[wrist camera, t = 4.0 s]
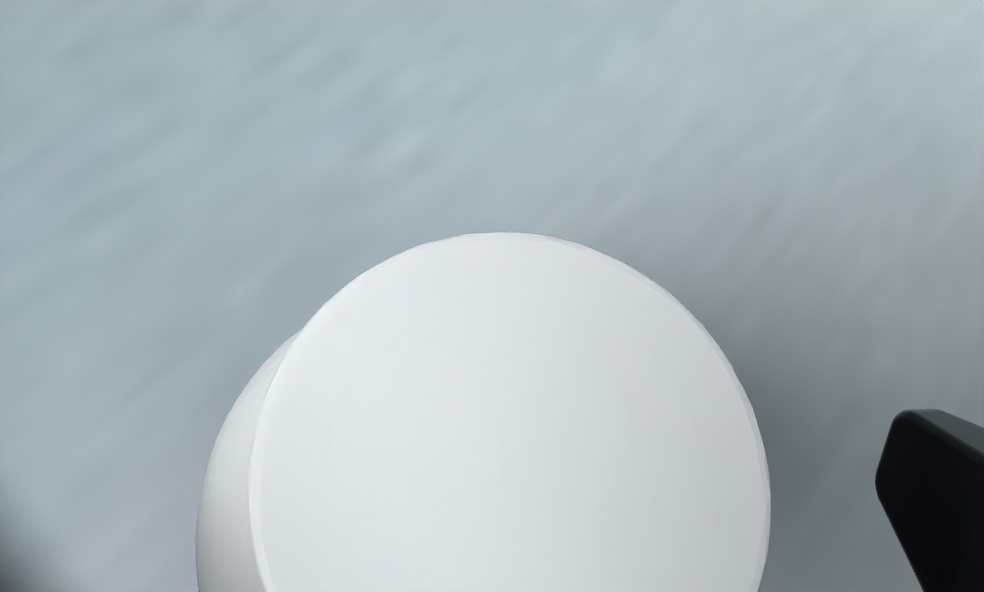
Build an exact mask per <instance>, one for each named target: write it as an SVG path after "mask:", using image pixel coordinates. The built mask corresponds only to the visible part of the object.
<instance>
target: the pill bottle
mask: <svg viewBox="0 0 984 592" xmlns="http://www.w3.org/2000/svg"><path fill="white" fill-rule="evenodd" d="M770 521H771V491H770V478H769V470H768V464H767V457H766V451H765V447H764V444H763V440H762V437H761V434H760V430H759V427H758V423H757V420H756V417H755V413H754V410H753V408H752V405H751V403H750V401H749V399H748V397H747V395H746V392H745V390H744V388H743V386H742V385H741V383H740V381H739V379H738V377H737V375H736V374H735V371H734V369H733V366H732V365H731V363H730V362H729V360H728V359H727V357H726V355H725V354H724V352H723V351H722V349H721V348H720V347H719V345H718V344H717V343H716V341H715V340H714V339H713V338H712V336H711V335H710V334H709V332H708V331H707V330H706V328H705V327H704V326H703V325H702V324H701V323H700V322H699V321H698V320H697V319H696V318H695V317H694V316H693V315H692V314H691V312H689V311H688V310H687V309H686V308H685V307H684V306H683V305H682V304H681V303H680V302H679V301H678V300H677V299H676V298H675V297H674V296H673V295H672V294H670V293H669V292H668V291H667V290H666V289H664V288H663V287H662V286H661V285H659V284H658V283H656V282H655V281H653V280H652V279H650V278H649V277H647V276H646V275H644V274H643V273H641V272H640V271H638V270H636V269H634V268H633V267H631V266H629V265H628V264H626V263H624V262H622V261H620V260H618V259H616V258H614V257H612V256H609V255H607V254H605V253H603V252H601V251H598V250H595V249H592V248H590V247H587V246H584V245H581V244H579V243H575V242H571V241H568V240H564V239H560V238H557V237H551V236H544V235H538V234H533V233H524V232H509V231H503V232H488V233H473V234H463V235H457V236H453V237H449V238H445V239H442V240H438V241H434V242H429V243H425V244H422V245H419V246H415V247H412V248H410V249H408V250H406V251H403V252H401V253H399V254H397V255H395V256H392V257H390V258H388V259H386V260H385V261H383V262H381V263H380V264H378V265H376V266H374V267H373V268H371V269H369V270H367V271H366V272H364V273H362V274H361V275H359V276H358V277H356V278H355V279H354V280H352V281H351V282H350V283H348V284H347V285H346V286H345V287H343V288H342V289H341V290H340V291H339V292H337V293H336V294H335V295H334V296H333V297H332V298H331V299H329V300H328V301H327V302H326V303H325V304H324V305H323V306H322V307H321V308H320V309H319V310H318V311H317V312H316V314H315V315H314V316H313V317H312V318H311V319H310V320H309V321H308V322H307V324H306V325H305V326H304V327H303V328H302V329H301V330H299V331H298V332H297V333H295V334H294V335H293V336H291V337H290V338H289V339H287V340H286V341H285V342H284V343H283V344H282V345H281V346H280V347H279V348H278V349H277V350H276V351H275V352H274V353H273V354H272V355H271V356H270V357H269V358H268V359H267V360H266V361H265V362H264V363H263V365H262V366H261V367H260V368H259V370H258V371H257V372H256V373H255V374H254V376H253V377H252V378H251V379H250V381H249V382H248V384H247V385H246V386H245V388H244V389H243V391H242V392H241V394H240V395H239V397H238V398H237V400H236V402H235V404H234V405H233V407H232V409H231V410H230V412H229V414H228V415H227V417H226V419H225V421H224V424H223V426H222V428H221V430H220V433H219V435H218V437H217V439H216V442H215V444H214V447H213V450H212V453H211V456H210V459H209V462H208V464H207V469H206V473H205V477H204V482H203V486H202V491H201V496H200V501H199V506H198V515H197V526H196V539H195V543H196V566H197V578H198V589H199V592H758V591H759V588H760V586H761V582H762V578H763V574H764V570H765V565H766V561H767V557H768V548H769V536H770Z"/></svg>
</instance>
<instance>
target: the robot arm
mask: <svg viewBox="0 0 984 592" xmlns="http://www.w3.org/2000/svg"><path fill="white" fill-rule="evenodd" d="M875 485H876V491H877V495H878V498H879V500H880V502H881V504H882V506H883V509H884V511H885V513H886V515H887V517H888V519H889V521H890V523H891V525H892V527H893V529H894V531H895V533H896V536H897V538H898V540H899V542H900V544H901V546H902V548H903V550H904V552H905V554H906V556H907V558H908V560H909V562H910V565H911V567H912V569H913V571H914V573H915V575H916V577H917V579H918V581H919V583H920V585H921V587H922V589H923V591H924V592H984V428H983V427H980V426H978V425H975V424H973V423H970V422H968V421H966V420H963V419H961V418H958V417H956V416H954V415H951V414H949V413H946V412H944V411H941V410H935V409H921V410H904V411H902V412H900V413H899V414H897V416H896V417H895V418H894V419H893V422H892V424H891V427H890V430H889V433H888V436H887V439H886V443H885V446H884V449H883V452H882V455H881V458H880V461H879V465H878V468H877V471H876V477H875Z"/></svg>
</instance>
